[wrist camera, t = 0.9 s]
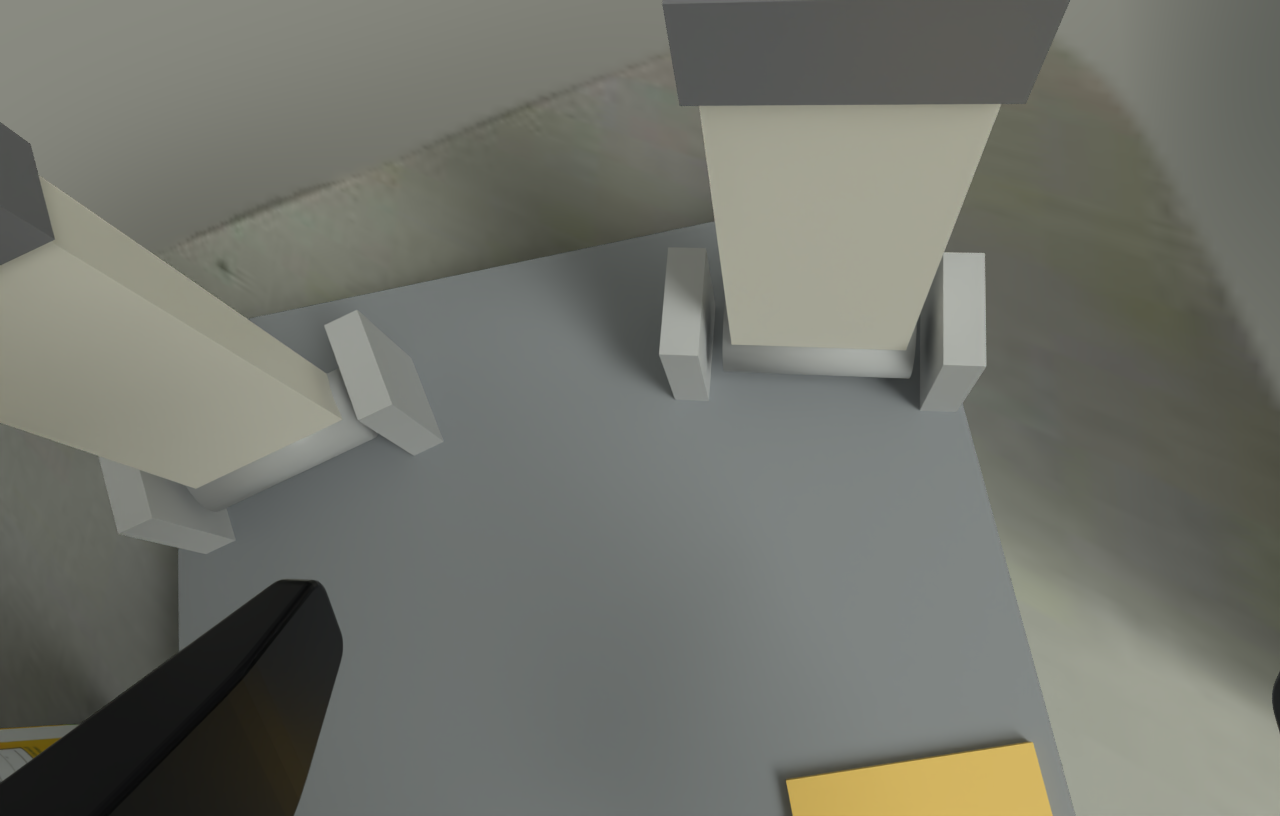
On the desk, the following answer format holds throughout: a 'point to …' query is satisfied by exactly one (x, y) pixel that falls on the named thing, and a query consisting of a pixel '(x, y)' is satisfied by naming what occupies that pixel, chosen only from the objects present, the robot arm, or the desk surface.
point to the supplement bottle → (26, 744)
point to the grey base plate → (636, 558)
